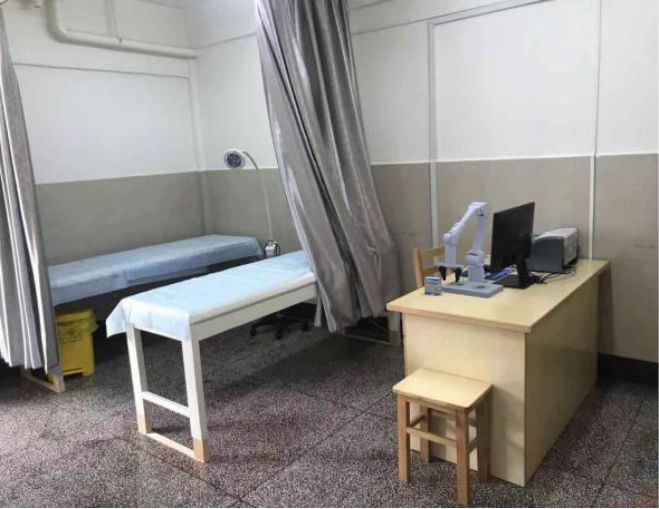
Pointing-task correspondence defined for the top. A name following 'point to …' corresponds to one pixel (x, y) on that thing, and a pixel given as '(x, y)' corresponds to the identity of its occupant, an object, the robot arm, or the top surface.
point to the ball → (461, 281)
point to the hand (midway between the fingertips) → (450, 281)
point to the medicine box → (433, 285)
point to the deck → (473, 288)
